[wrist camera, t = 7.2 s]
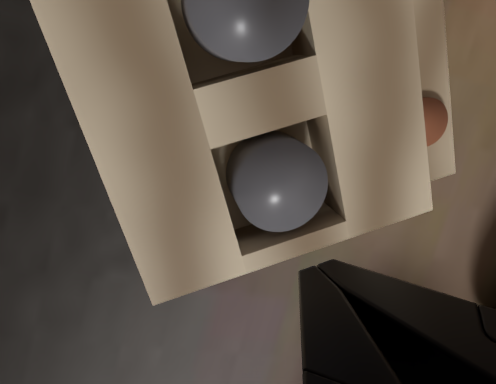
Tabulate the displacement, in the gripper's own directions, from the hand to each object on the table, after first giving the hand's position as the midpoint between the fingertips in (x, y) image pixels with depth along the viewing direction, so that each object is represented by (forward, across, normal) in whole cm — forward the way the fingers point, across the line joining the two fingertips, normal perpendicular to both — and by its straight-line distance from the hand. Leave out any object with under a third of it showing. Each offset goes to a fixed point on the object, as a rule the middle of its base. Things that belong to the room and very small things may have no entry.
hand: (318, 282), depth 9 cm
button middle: (+7, -1, -6) cm, 10 cm away
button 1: (+9, -1, 0) cm, 9 cm away
